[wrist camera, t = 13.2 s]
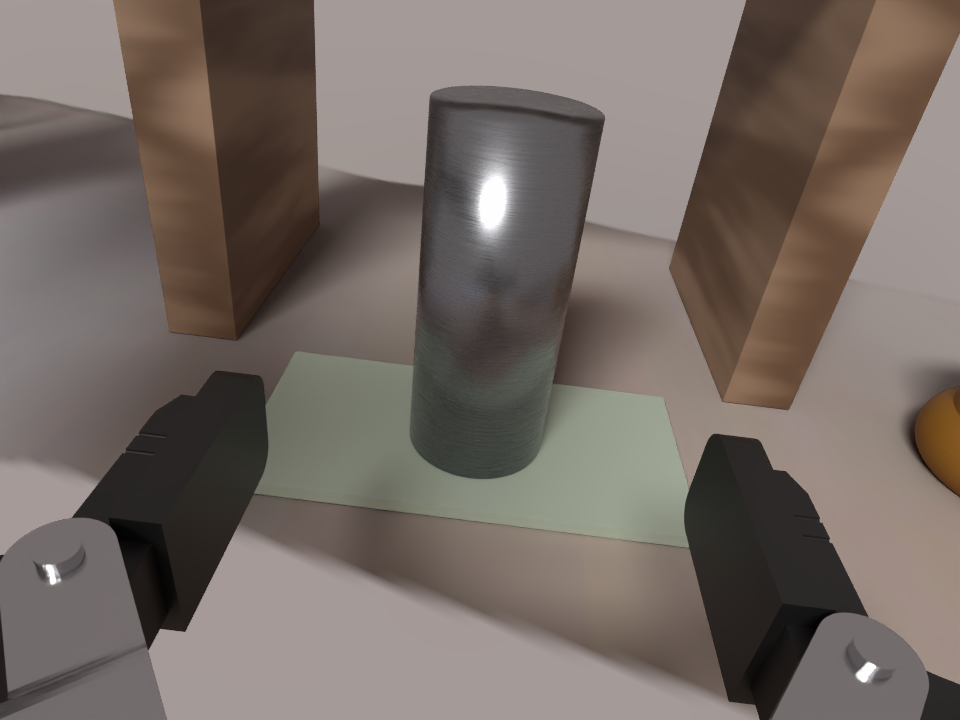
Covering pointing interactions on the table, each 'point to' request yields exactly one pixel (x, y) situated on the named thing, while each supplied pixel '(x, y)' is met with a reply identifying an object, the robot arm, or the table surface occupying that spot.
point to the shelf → (711, 207)
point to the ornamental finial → (941, 437)
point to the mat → (505, 500)
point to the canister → (496, 270)
